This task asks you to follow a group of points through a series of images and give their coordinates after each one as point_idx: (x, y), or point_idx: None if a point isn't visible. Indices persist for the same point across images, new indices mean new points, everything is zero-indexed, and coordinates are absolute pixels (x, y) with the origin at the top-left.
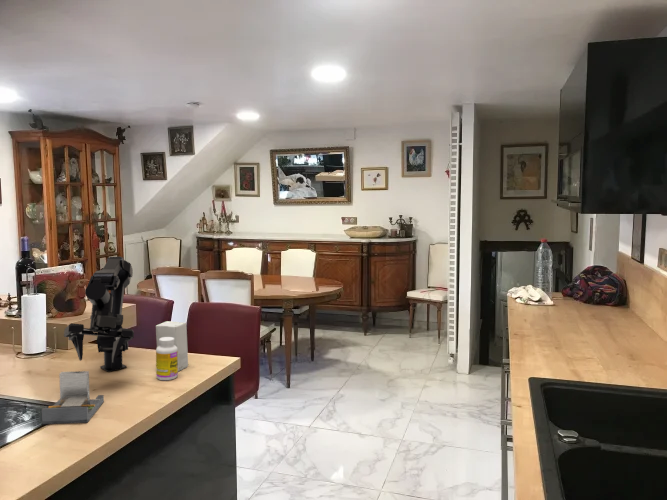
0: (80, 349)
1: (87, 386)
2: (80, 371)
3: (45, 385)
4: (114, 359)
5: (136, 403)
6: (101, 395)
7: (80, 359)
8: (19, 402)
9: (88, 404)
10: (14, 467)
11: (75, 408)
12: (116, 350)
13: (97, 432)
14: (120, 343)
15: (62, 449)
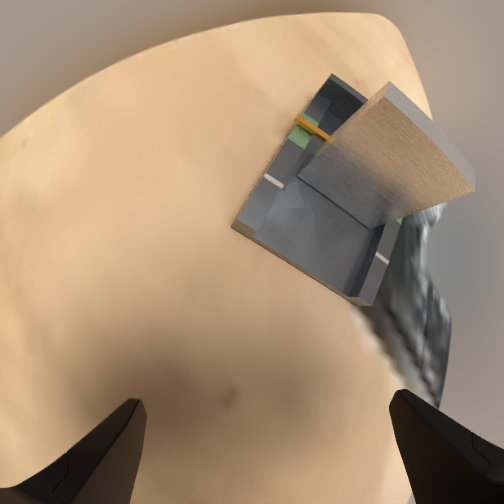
0: (456, 428)
1: (349, 119)
2: (417, 125)
3: (354, 486)
4: (126, 406)
5: (133, 136)
6: (246, 219)
7: (406, 389)
8: (429, 371)
9: (308, 158)
10: (406, 59)
11: (359, 94)
12: (88, 462)
13: (295, 48)
14: (28, 501)
15: (356, 46)
